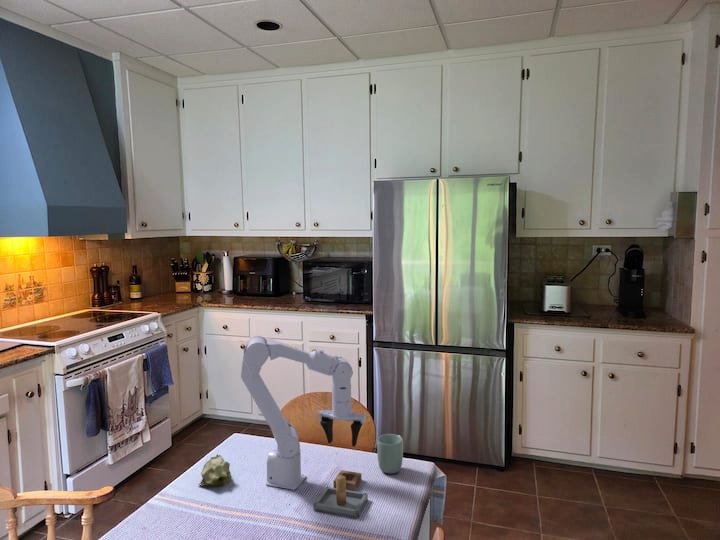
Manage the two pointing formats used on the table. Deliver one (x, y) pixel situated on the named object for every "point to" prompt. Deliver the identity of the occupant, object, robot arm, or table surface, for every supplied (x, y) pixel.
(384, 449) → the cup
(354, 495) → the tray
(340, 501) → the pin
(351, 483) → the socket
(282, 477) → the robot arm
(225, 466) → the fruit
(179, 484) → the table surface
